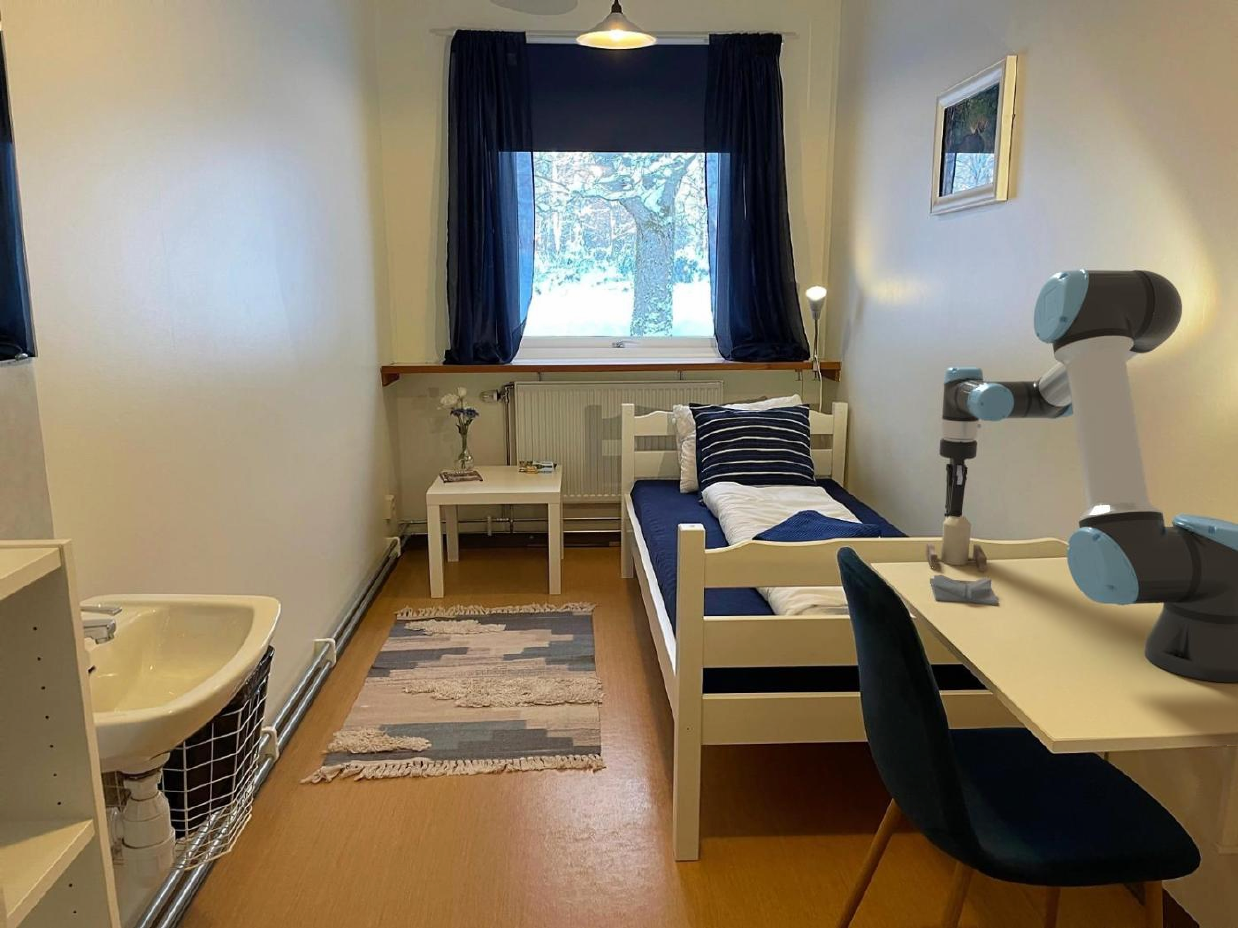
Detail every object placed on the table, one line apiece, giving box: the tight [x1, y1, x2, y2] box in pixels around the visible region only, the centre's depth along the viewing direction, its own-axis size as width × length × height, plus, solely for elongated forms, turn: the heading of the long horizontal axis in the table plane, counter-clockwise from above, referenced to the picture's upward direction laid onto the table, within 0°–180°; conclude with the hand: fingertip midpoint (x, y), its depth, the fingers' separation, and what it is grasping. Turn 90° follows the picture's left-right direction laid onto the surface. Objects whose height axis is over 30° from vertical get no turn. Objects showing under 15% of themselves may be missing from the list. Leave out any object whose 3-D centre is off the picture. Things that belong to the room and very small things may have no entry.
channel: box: [925, 541, 988, 573], centre depth 200 cm, size 10×11×3 cm
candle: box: [940, 516, 972, 566], centre depth 200 cm, size 6×6×10 cm
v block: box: [929, 574, 999, 606], centre depth 181 cm, size 11×11×3 cm
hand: (950, 544), depth 207 cm, fingers closed
